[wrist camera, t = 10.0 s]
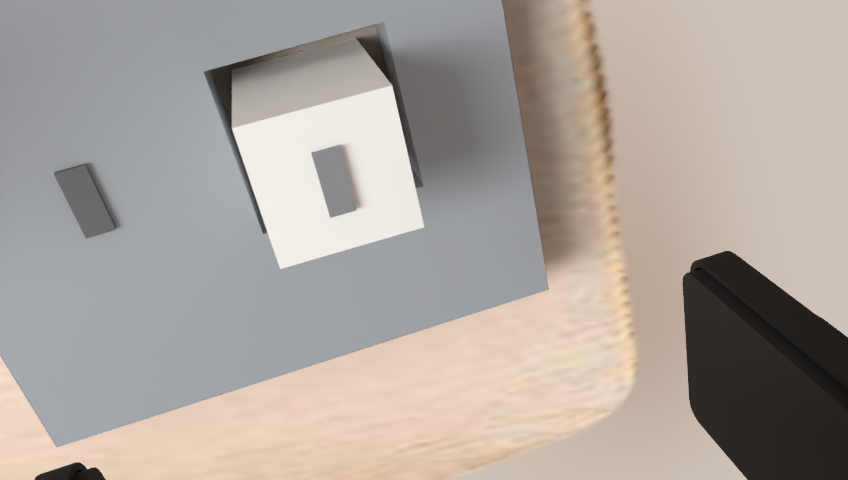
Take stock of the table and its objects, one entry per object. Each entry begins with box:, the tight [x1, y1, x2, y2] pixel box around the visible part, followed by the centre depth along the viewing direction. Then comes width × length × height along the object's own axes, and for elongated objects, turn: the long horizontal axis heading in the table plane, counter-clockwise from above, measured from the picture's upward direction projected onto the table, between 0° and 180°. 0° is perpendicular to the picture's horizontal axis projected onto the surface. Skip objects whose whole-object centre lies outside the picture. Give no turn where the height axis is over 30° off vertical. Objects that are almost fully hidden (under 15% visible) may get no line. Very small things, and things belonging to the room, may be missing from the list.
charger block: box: [232, 38, 424, 269], centre depth 24 cm, size 4×4×7 cm
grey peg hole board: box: [0, 0, 549, 447], centre depth 26 cm, size 18×20×3 cm
